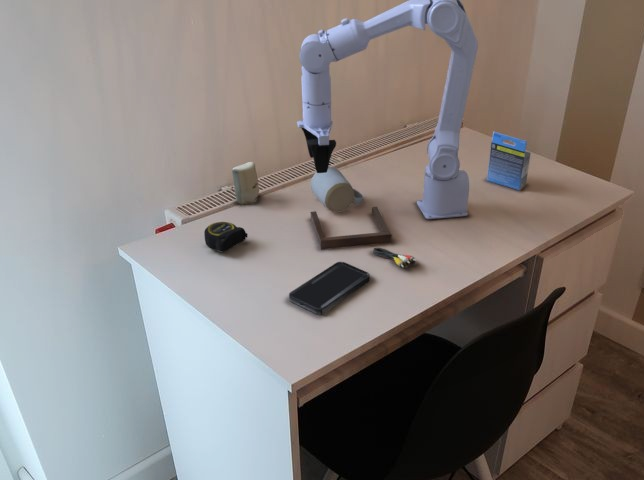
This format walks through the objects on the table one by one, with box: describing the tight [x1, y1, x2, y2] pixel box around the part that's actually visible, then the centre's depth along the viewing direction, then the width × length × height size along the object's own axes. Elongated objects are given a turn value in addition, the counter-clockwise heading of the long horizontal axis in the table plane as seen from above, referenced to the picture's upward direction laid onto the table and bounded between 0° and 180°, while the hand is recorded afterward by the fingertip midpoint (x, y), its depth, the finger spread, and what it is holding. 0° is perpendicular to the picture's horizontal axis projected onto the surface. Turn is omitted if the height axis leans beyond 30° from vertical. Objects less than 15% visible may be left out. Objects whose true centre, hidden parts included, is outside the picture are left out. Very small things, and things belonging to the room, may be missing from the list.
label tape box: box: [486, 130, 532, 191], centre depth 167 cm, size 9×4×12 cm, turn 58°
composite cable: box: [372, 247, 417, 270], centre depth 140 cm, size 10×5×2 cm, turn 42°
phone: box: [288, 261, 371, 315], centre depth 131 cm, size 8×1×15 cm
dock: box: [309, 205, 392, 250], centre depth 148 cm, size 14×12×2 cm
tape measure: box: [203, 221, 248, 253], centre depth 141 cm, size 7×7×4 cm
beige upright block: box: [231, 161, 260, 206], centre depth 155 cm, size 6×5×8 cm
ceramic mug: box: [310, 165, 364, 213], centre depth 156 cm, size 11×8×8 cm
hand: (318, 164), depth 151 cm, fingers open, 7 cm apart
